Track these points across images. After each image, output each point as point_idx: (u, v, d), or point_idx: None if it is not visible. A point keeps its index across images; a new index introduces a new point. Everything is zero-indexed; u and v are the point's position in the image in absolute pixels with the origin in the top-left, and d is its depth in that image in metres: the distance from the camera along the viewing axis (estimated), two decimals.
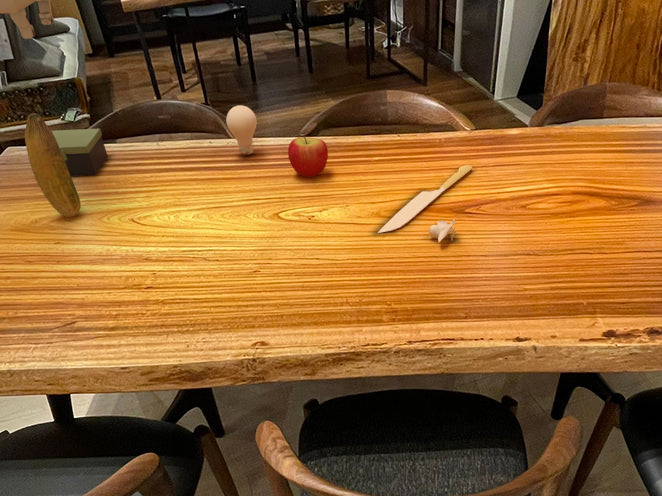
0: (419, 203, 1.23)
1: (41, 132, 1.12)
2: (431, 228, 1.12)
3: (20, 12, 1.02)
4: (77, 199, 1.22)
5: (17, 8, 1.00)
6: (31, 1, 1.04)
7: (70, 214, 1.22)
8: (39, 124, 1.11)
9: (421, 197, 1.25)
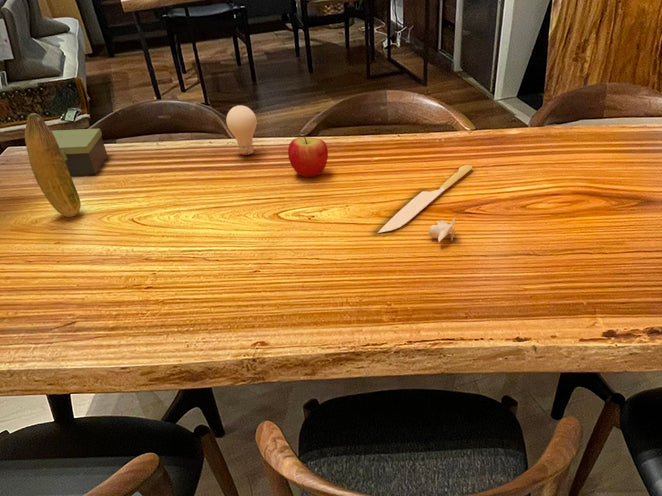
0: (419, 203, 1.23)
1: (41, 132, 1.12)
2: (431, 228, 1.12)
3: None
4: (77, 199, 1.22)
5: None
6: None
7: (70, 214, 1.22)
8: (39, 124, 1.11)
9: (421, 197, 1.25)
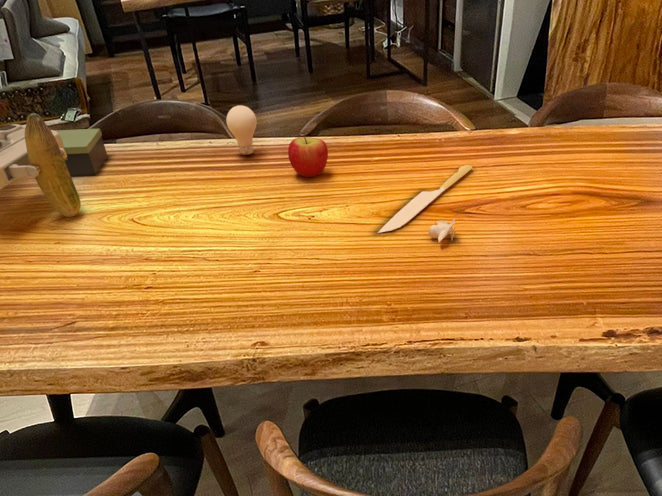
0: (419, 203, 1.23)
1: (41, 132, 1.12)
2: (431, 228, 1.12)
3: None
4: (77, 199, 1.22)
5: None
6: None
7: (70, 214, 1.22)
8: (39, 124, 1.11)
9: (421, 197, 1.25)
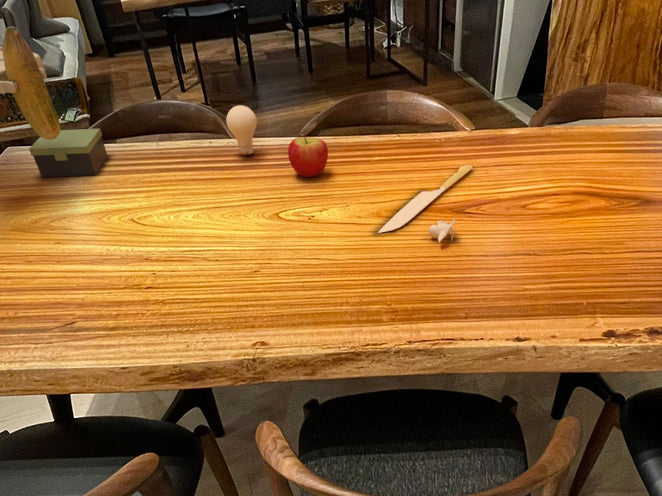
0: (419, 203, 1.23)
1: (19, 46, 1.11)
2: (431, 228, 1.12)
3: None
4: (56, 121, 1.21)
5: None
6: None
7: (49, 136, 1.21)
8: (17, 38, 1.10)
9: (421, 197, 1.25)
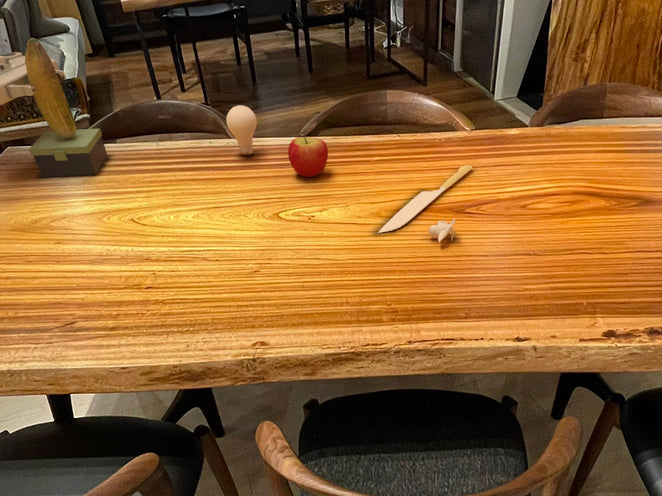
0: (419, 203, 1.23)
1: (40, 55, 1.25)
2: (431, 228, 1.12)
3: None
4: (72, 121, 1.35)
5: None
6: None
7: (66, 135, 1.36)
8: (38, 48, 1.25)
9: (421, 197, 1.25)
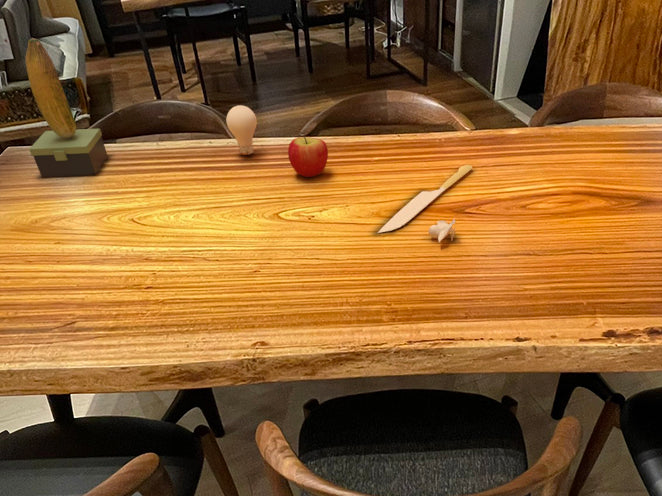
0: (419, 203, 1.23)
1: (41, 55, 1.25)
2: (431, 228, 1.12)
3: None
4: (73, 121, 1.35)
5: None
6: None
7: (66, 135, 1.36)
8: (38, 48, 1.25)
9: (421, 197, 1.25)
